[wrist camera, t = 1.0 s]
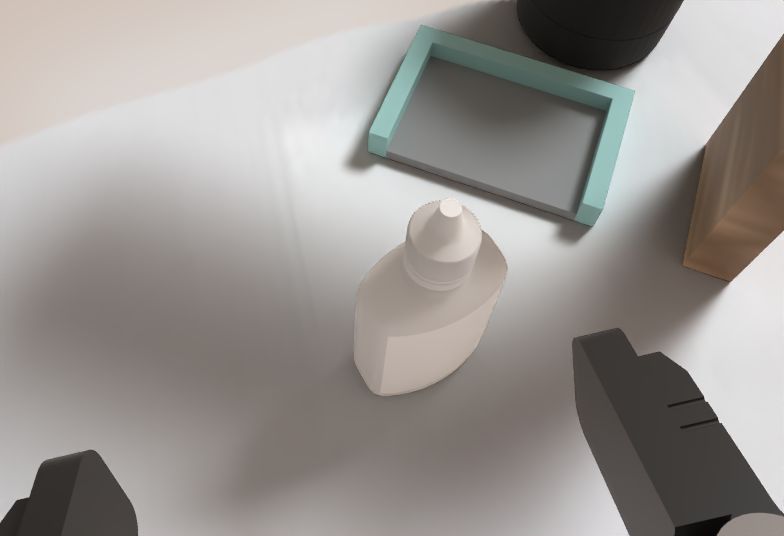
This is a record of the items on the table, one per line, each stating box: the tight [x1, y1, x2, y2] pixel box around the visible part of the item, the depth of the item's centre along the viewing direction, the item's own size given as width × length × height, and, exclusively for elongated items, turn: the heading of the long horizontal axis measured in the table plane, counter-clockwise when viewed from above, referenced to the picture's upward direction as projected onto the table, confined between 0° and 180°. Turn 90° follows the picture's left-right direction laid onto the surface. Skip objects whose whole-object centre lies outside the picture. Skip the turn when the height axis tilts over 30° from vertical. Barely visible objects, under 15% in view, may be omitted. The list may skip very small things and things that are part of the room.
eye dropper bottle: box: [354, 198, 508, 396], centre depth 28 cm, size 4×6×12 cm
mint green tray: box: [368, 25, 635, 227], centre depth 38 cm, size 12×8×2 cm, turn 70°
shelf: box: [682, 34, 784, 282], centre depth 30 cm, size 22×9×19 cm, turn 70°
